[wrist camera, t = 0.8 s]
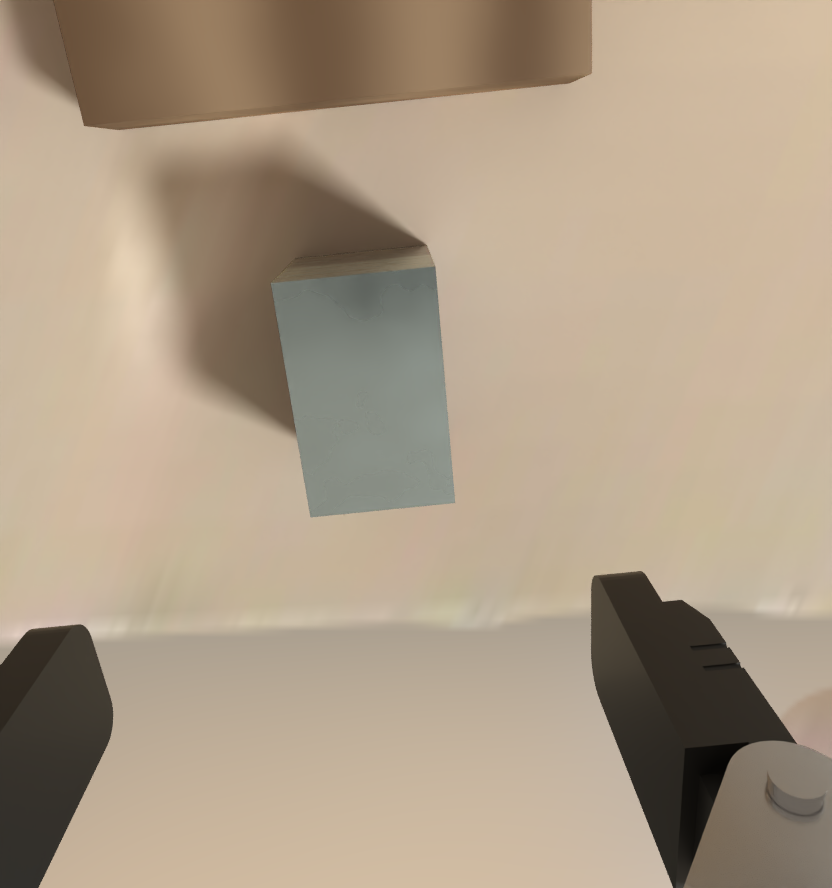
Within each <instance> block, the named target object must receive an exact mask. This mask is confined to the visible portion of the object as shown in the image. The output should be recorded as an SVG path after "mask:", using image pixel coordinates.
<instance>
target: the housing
mask: <svg viewBox="0 0 832 888" xmlns="http://www.w3.org/2000/svg"><path fill="white" fill-rule="evenodd" d="M271 287H272V293H273V299H274V305H275V311H276V317H277V323H278V329H279V335H280V340H281V346H282V352H283V358H284V364H285V370H286V376H287V382H288V388H289V393H290V399H291V405H292V411H293V417H294V423H295V429H296V435H297V441H298V446H299V452H300V458H301V464H302V470H303V476H304V482H305V488H306V494H307V499H308V505H309V511H310V517H318V516H329V515H339V514H349V513H359V512H369V511H379V510H389V509H399V508H409V507H419V506H429V505H439V504H449V503H455V496H454V484H453V472H452V460H451V448H450V436H449V424H448V412H447V401H446V389H445V377H444V365H443V353H442V341H441V329H440V317H439V305H438V293H437V281H436V269H435V264H434V262H433V259H432V257H431V254H430V252H429V249H428V247H427V245H421V246H411V247H401V248H392V249H382V250H372V251H362V252H353V253H343V254H333V255H323V256H313V257H304V258H295V259H294V260H293V261H292V262H291V263H290V264H289V265H288V266H287V267H286V268H285V269H284V270H283V271H282V272H281V273H280V274H279V275H278V276H277V277H276V278H275V279H274V280H273V281H272V282H271Z"/></svg>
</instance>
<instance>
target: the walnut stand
mask: <svg viewBox="0 0 832 888" xmlns="http://www.w3.org/2000/svg"><path fill="white" fill-rule="evenodd" d="M53 1H54V5H55V9H56V13H57V17H58V21H59V26H60V30H61V34H62V38H63V42H64V46H65V50H66V54H67V58H68V62H69V66H70V70H71V74H72V78H73V82H74V86H75V91H76V95H77V99H78V103H79V107H80V111H81V115H82V119H83V123H84V126H89V127H98V128H107V129H115V130H122V129H132V128H141V127H151V126H161V125H170V124H180V123H190V122H199V121H209V120H219V119H228V118H238V117H248V116H257V115H267V114H277V113H286V112H296V111H306V110H315V109H325V108H335V107H344V106H354V105H364V104H373V103H383V102H393V101H402V100H412V99H422V98H431V97H441V96H451V95H460V94H470V93H480V92H489V91H499V90H509V89H518V88H528V87H538V86H547V85H557V84H567V83H571V82H573V81H576V80H578V79H580V78H582V77H585V76H587V75H589V74H591V73H592V0H53Z"/></svg>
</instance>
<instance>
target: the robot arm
mask: <svg viewBox="0 0 832 888" xmlns="http://www.w3.org/2000/svg"><path fill="white" fill-rule="evenodd" d="M591 659H592V669H593V676H594V681H595V686H596V690H597V693H598V696H599V699H600V702H601V704H602V707H603V709H604V712H605V714H606V717H607V720H608V722H609V725H610V727H611V730H612V732H613V735H614V737H615V740H616V743H617V745H618V748H619V750H620V753H621V755H622V758H623V760H624V763H625V766H626V768H627V771H628V773H629V776H630V778H631V781H632V783H633V786H634V789H635V791H636V794H637V796H638V798H639V801H640V804H641V806H642V809H643V812H644V814H645V817H646V819H647V822H648V824H649V827H650V829H651V832H652V834H653V837H654V839H655V842H656V845H657V847H658V850H659V852H660V855H661V857H662V860H663V863H664V865H665V868H666V870H667V873H668V875H669V878H670V880H671V883H672V886H673V888H832V759H831V758H829V757H828V756H826V755H824V754H822V753H820V752H818V751H816V750H813V749H811V748H808V747H806V746H802V745H799V744H797V743H796V742H795V740H794V739H793V737H792V736H791V735H790V733H789V732H788V730H787V729H786V727H785V726H784V725H783V723H782V722H781V720H780V719H779V717H778V716H777V715H776V713H775V712H774V710H773V709H772V707H771V706H770V705H769V703H768V702H767V700H766V699H765V698H764V696H763V695H762V693H761V692H760V690H759V689H758V688H757V686H756V685H755V683H754V682H753V681H752V679H751V678H750V676H749V675H748V673H747V672H746V670H745V669H744V668H741V666H740V662H739V660H738V659H737V657H736V656H735V655H734V653H733V652H732V650H731V649H730V648H727V646H726V642H725V640H724V639H723V638H722V636H721V635H720V633H719V632H718V630H717V629H716V628H715V626H714V625H713V623H712V622H711V621H710V619H709V618H707V617H706V616H704V615H703V614H701V613H700V612H699V611H697V610H696V609H694V608H693V607H691V606H690V605H688V604H687V603H685V602H684V601H683V600H677V601H666V602H662V600H661V599H660V597H659V596H658V594H657V592H656V591H655V589H654V588H653V586H652V584H651V583H650V581H649V580H648V578H647V576H646V575H645V574H644V573H643V572H642V571H638V572H628V573H617V574H607V575H597V576H594V577H593V580H592V587H591ZM112 725H113V707H112V702H111V698H110V695H109V692H108V688H107V686H106V682H105V679H104V676H103V673H102V670H101V667H100V663H99V660H98V657H97V654H96V651H95V647H94V644H93V641H92V638H91V635H90V633H89V631H88V630H87V628H86V627H85V626H83V625H69V626H58V627H48V628H38V629H31V630H29V631H28V632H26V633H25V635H24V636H23V637H22V638H21V640H20V641H19V642H18V643H17V645H16V646H15V647H14V649H13V650H12V651H11V653H10V654H9V655H8V656H7V658H6V659H5V660H4V662H3V663H2V664H1V665H0V888H38V887H39V885H40V883H41V881H42V879H43V877H44V875H45V873H46V871H47V869H48V867H49V865H50V863H51V860H52V858H53V856H54V854H55V852H56V850H57V848H58V846H59V844H60V842H61V840H62V838H63V836H64V833H65V831H66V829H67V827H68V825H69V823H70V821H71V819H72V817H73V815H74V813H75V811H76V809H77V807H78V805H79V802H80V800H81V798H82V796H83V794H84V792H85V790H86V788H87V786H88V784H89V782H90V780H91V778H92V775H93V774H94V772H95V770H96V767H97V765H98V763H99V761H100V759H101V757H102V755H103V753H104V751H105V749H106V747H107V744H108V742H109V739H110V736H111V731H112Z"/></svg>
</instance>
